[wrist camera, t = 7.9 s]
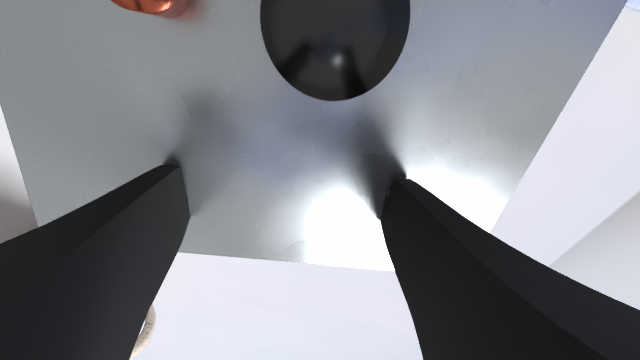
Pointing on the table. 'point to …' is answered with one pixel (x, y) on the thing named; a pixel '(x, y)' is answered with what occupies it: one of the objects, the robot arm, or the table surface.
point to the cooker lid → (290, 108)
